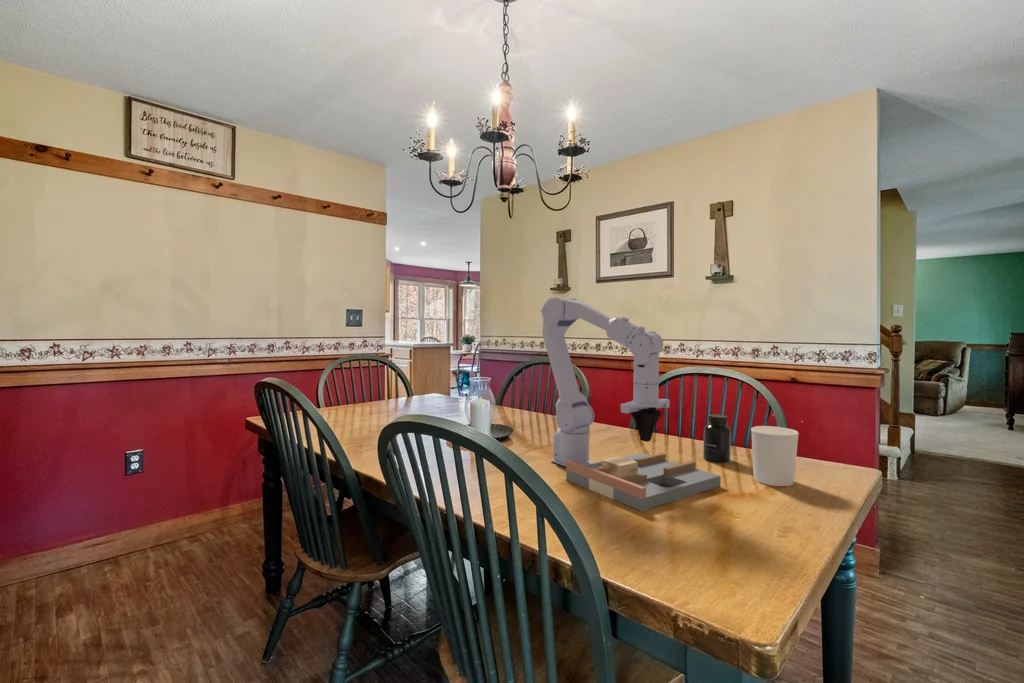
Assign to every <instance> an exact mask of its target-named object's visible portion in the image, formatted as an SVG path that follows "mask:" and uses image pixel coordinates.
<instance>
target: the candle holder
mask: <svg viewBox="0 0 1024 683" xmlns="http://www.w3.org/2000/svg"><path fill="white" fill-rule="evenodd" d="M750 431H751V452H752V474H753V479H754V480H755V482H758V483H760V484H762V483H763V484H762V485H766V484H767V485H766V486H771V487H779V486H786V487H791V486H793V485H794V484H795V478H796V476H795V473H796V465H797V454H798V453H797V452H798V443H799V442H798V441H799V435H800V433H799V432H798V431H797V430H795V429H792V428H788V427H782V426H774V425H773V426H771V425H757V426H753V427H751V428H750Z"/></svg>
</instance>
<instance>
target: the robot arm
mask: <svg viewBox="0 0 1024 683" xmlns="http://www.w3.org/2000/svg"><path fill="white" fill-rule="evenodd" d="M540 311H541V315H542V319H543V320H542V331H541V332H542V337H543V340H544V344H545V348H546V352H547V355H548V360H549V363H550V367H551V370H552V374H553V379H554V382H555V386H556V389H557V393H558V396H559V397H558V399H557V401H556V403H555V405H554V406H555V411H556V412H555V422H556V425H557V427H558V429H557V430H556V431H555V432H554V435H553V442H552V443H553V451H552V452H553V453H552V454H553V455H552V456H553V457H552V459H550V462H552V463H555V464H557V465H559V466H560V465H561V466H563V467H565V468H567V461H569V460H571V461H574V462H577V463H580V464H582V465H589V464H593V463H596V462H594V461H592V460H590V425H592V424H593V422H594V420H595V413H594V410H593V408H592V407H591V405H590V404H589V402H588V398H587V397H586V396H585V395H584V394H583V393H581V391H580V388H579V384H578V381H577V378H576V374H575V371H574V367H573V363H572V360H571V357H570V353H569V352H570V351H569V348H568V346H567V342H566V338H565V335H566V333H567V331H568V329H569V328H570V327H571V326H572V325H573V324H574V323H576V322H577V320H578V319H581V320H583V321H585V322H587V323H589V324H591V325H593V326H596V327H598V328H600V329H602V330H604V331H605V333H606V337H607V338H609V339H610V340H612V341H614V342H616V343H618V344H620V345H621V346H622V347H625V348H627V349H628V350H629V351H630V353H631V354H632V355H633V396H632V398H633V399H632V400H631V401H628V402H625V403H620V413H623V414H626V415H627V414H630V415H631V416H632V418H633V420H634V423H635V425H636V427H637V431H638V436H639V440H640V441H642V442H646V443H647V442H648V443H649V442H651V440H652V437H653V432H654V430H655V427H656V426H657V425H656V424H657V422H658V421H659V419H660V417H661V415H662V410H658V409H663V408H665V409H669V408H670V407H671V406H670V404H671V401H670V399H668V398H659V392H660V390H659V388H660V387H659V386H660V384H659V383H660V379H659V378H660V353H661V352H662V350H663V347H664V341H663V339H662V338H663V337H661V335H659V334H658V333H657V331H653V330H652V331H651V330H649V331H646V327H645V326H642V325H641V326H639V325H636V324H634V323H632V322H630V321H629V320H630V319H629V318H628V317H626V316H622V317H621V316H617V317H615V318H612V317H610V316H608V315H606V314H605V313H603V312H602V311H600V310H597V308H594V307H592V306H591V305H590V304H588V303H586V302H584V301H582V300H578V299H576V298H573V297H570V298H569V297H568V298H565V297H564V298H563V297H557V296H552V297H549V298H548V299H547V300H546V301H545V303H544V305H542V308H541V310H540Z"/></svg>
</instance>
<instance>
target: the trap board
mask: <svg viewBox="0 0 1024 683" xmlns="http://www.w3.org/2000/svg"><path fill="white" fill-rule="evenodd" d="M623 457H624V458H627V459H630V460H633V461H637V462H638V474H637V475H634V476H630V477H626V478H622V479H621V478H618V477H615V476H613V475H610V474H607V473H604V472H602V461H600V462H599V461H598V462H595V463H593V464H589V465H582V464H580V463H577V462H574V461H571V460H569V461H567V467H566V472H565V473H566V477H565V478H566V480H567V481H568V482H571V483H573V484H574V485H575V484H576V485H578V486H580V487H582V488H585V489H587V490H591V491H593V492H594V491H595V492H594V493H597V494H599V493H600V495H602V496H604V495H605V496H604V497H606V496H607V498H609V499H611V498H612V499H611V500H614V501H616V500H617V501H616V502H618V501H619V502H618V503H621V504H624V505H625V504H626V506H629V507H630V506H631V507H630V508H633V509H635V510H637V509H638V510H637V511H640V512H644V511H647V510H650V508H651V509H653V508H652V507H654V508H656V507H655V506H657V507H659V506H658V505H660V506H662V505H661V504H663V505H666V504H665V503H667V504H668V502H670V503H672V501H673V502H676V501H679V500H682V499H685V498H689V497H692V496H695V495H698V494H701V493H700V492H702V493H704V492H703V491H705V492H708V491H711V490H713V488H714V489H717V488H716V487H718V488H720V487H721V480H722V479H721V475H720V474H716V473H712V472H710V471H707V470H702V469H699V468H696V464H697V462H695V461H694V460H693V461H692V460H690V461H685V462H682V463H678V462H674V461H671V460H668V459H667V456H666V453H663V452H660V453H656V454H651V455H650V454H646V453H644V452H641V453H640V452H639V453H636V454H631V455H627V456H623ZM710 489H711V490H710ZM707 490H708V491H707ZM691 495H692V496H691ZM678 499H679V500H678ZM675 500H676V501H675ZM646 509H647V510H646Z"/></svg>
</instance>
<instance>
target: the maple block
mask: <svg viewBox="0 0 1024 683" xmlns="http://www.w3.org/2000/svg"><path fill="white" fill-rule="evenodd" d="M624 457H625V456H620V455H618V456H614V457H610V458H605V459H601V462H602V472H604V473H607V474H610V475H613V476H615V477H618V478H621V479H622V478H626V477H630V476H634V475H637V474H638V462H637V461H633V460H630V459H627V458H624Z"/></svg>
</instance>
